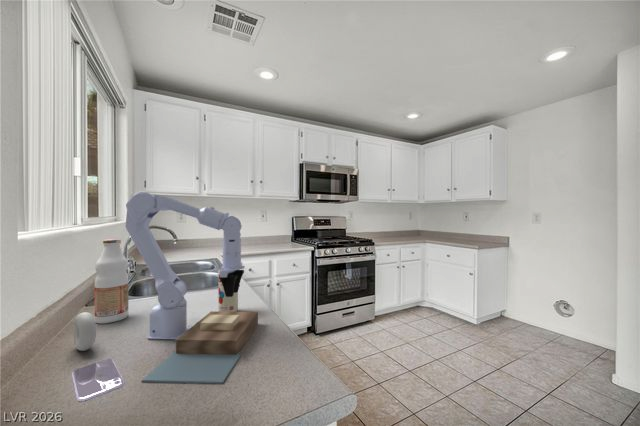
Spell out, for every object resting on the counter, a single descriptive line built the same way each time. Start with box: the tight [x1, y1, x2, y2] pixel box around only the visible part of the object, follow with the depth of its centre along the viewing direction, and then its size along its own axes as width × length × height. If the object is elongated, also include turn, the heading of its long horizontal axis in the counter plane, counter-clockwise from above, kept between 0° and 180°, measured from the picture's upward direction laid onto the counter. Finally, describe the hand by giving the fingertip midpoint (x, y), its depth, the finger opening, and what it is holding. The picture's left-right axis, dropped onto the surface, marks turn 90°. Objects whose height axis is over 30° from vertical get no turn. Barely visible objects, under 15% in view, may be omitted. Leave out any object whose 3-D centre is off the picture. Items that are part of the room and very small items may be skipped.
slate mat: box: [141, 351, 242, 385], centre depth 63 cm, size 18×12×1 cm, turn 88°
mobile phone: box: [71, 358, 125, 403], centre depth 59 cm, size 8×1×15 cm
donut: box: [72, 311, 97, 352], centre depth 72 cm, size 10×4×10 cm, turn 54°
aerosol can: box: [217, 263, 239, 312], centre depth 98 cm, size 7×7×20 cm
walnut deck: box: [175, 311, 259, 355], centre depth 78 cm, size 16×20×4 cm
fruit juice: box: [94, 238, 129, 324], centre depth 93 cm, size 9×9×28 cm
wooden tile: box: [200, 315, 239, 330], centre depth 77 cm, size 9×6×2 cm, turn 88°
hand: (232, 294), depth 86 cm, fingers open, 4 cm apart
